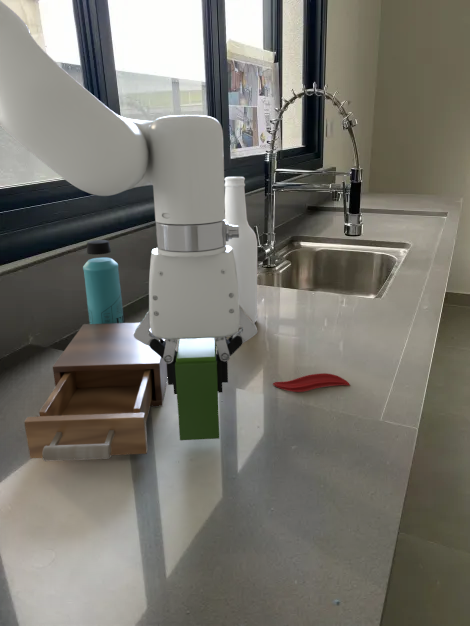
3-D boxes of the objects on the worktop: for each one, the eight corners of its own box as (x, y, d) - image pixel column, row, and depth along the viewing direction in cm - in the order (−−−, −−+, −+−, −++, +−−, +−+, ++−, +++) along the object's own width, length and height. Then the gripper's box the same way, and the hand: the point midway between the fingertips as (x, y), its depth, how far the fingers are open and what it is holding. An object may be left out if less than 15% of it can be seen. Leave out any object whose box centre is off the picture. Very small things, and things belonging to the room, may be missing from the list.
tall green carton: (180, 443, 58) (174, 360, 54) (183, 411, 65) (178, 336, 62) (219, 442, 58) (216, 359, 55) (218, 409, 65) (215, 335, 62)
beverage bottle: (122, 351, 92) (112, 243, 85) (86, 351, 92) (74, 244, 85) (130, 338, 98) (121, 237, 91) (96, 338, 98) (85, 237, 92)
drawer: (141, 478, 54) (138, 439, 53) (15, 483, 54) (8, 444, 52) (160, 389, 74) (158, 359, 73) (68, 393, 74) (64, 362, 72)
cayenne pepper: (271, 390, 76) (271, 379, 75) (273, 377, 80) (273, 366, 80) (351, 394, 74) (352, 383, 73) (349, 381, 78) (350, 370, 78)
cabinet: (162, 406, 72) (159, 363, 69) (58, 410, 71) (52, 366, 69) (171, 357, 88) (169, 321, 86) (87, 360, 88) (83, 324, 86)
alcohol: (248, 331, 101) (247, 178, 91) (209, 326, 104) (204, 178, 94) (262, 318, 108) (263, 176, 99) (225, 313, 112) (222, 175, 102)
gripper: (264, 230, 58) (264, 372, 64) (119, 234, 57) (132, 377, 63) (272, 241, 51) (271, 400, 57) (106, 245, 50) (122, 406, 56)
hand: (198, 386), depth 60 cm, fingers closed on tall green carton, 4 cm apart
